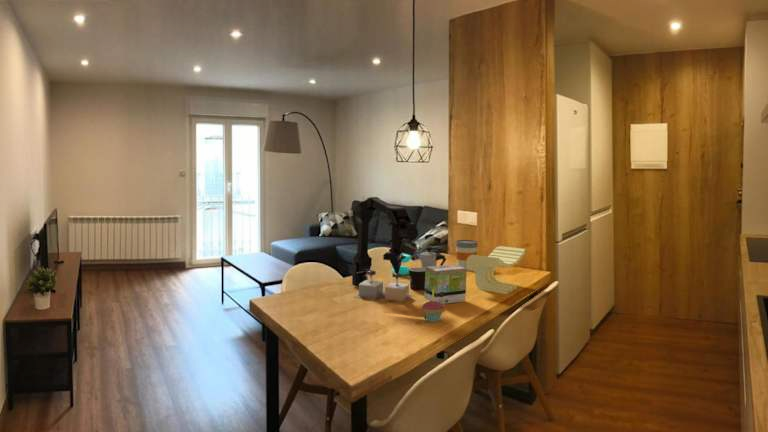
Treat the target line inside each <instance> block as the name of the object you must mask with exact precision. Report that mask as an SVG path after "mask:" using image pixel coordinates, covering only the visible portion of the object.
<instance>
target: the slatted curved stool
mask: <svg viewBox="0 0 768 432" xmlns="http://www.w3.org/2000/svg"><path fill="white" fill-rule="evenodd" d="M525 255H526V248H521V247H513V246H504V245H503V246H502V245H499V246H496V247H495V248H494V249H493V250H492V251H491V252H490V253H489V254H488V255H487V256H486V255H479V254H477V255H470V256H469V257H468V258H467V260H466V269H467V271H469V272H474V277H475V278H474V280H475V281H474V282H475V285H476V288H478V289H479V290H480V291H487V292H492V293H496V294H497V293H498V294H503V295H506V294H509V293H510V292H513V291H514V290H517V289H518V287H517V284H513V283H508V282H505V281H501V280H499V279H497V278H496V276H495V275H494V272H495V269H496V268H506V269H507V268H509V267H512V266H515V265H517V264H519V262H520V261H521V259H523V258H524V256H525Z"/></svg>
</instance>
